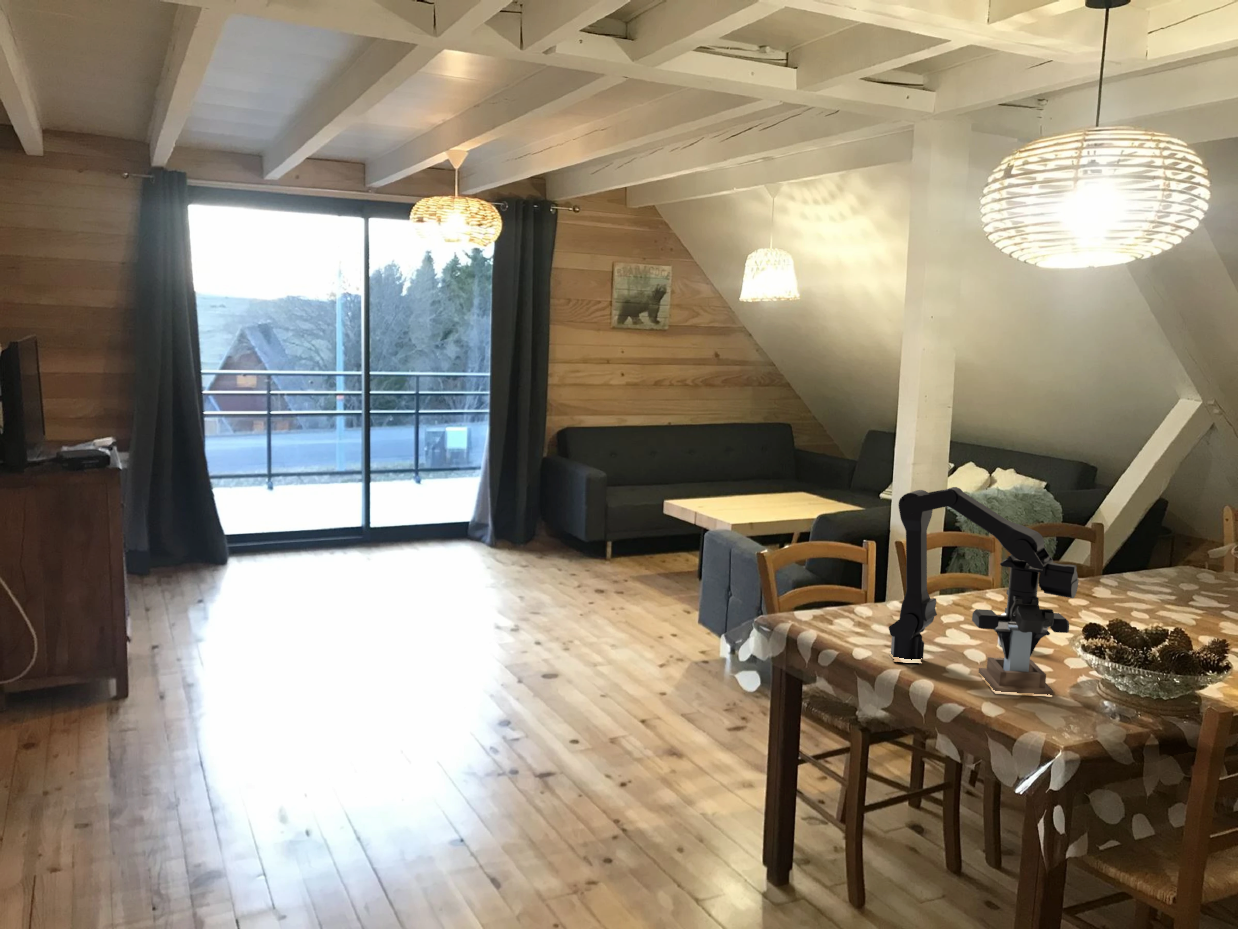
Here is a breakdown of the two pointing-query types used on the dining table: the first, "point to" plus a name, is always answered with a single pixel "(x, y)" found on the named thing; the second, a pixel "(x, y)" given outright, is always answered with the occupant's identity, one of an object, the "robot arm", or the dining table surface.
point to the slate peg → (1018, 650)
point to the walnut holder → (1015, 678)
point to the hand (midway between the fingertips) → (1016, 659)
